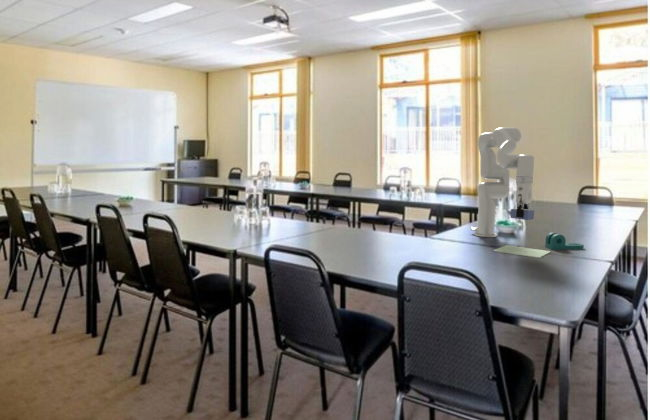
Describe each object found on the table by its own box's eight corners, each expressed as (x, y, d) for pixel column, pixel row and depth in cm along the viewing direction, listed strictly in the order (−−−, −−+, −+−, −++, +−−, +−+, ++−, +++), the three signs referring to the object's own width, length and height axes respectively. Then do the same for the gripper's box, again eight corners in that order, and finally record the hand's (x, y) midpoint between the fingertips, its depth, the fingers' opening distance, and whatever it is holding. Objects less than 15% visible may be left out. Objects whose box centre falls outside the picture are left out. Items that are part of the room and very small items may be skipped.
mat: (493, 251, 234) (493, 250, 234) (506, 245, 247) (506, 245, 247) (539, 258, 220) (539, 257, 219) (550, 252, 233) (550, 251, 233)
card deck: (527, 220, 227) (528, 210, 226) (510, 217, 234) (511, 208, 233) (533, 219, 230) (534, 209, 230) (516, 217, 237) (516, 207, 237)
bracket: (552, 249, 239) (553, 234, 238) (545, 247, 246) (546, 232, 245) (586, 249, 240) (587, 234, 239) (578, 247, 247) (579, 232, 246)
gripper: (526, 181, 221) (524, 219, 223) (537, 179, 234) (535, 215, 236) (510, 180, 226) (508, 217, 228) (522, 179, 239) (520, 214, 241)
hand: (522, 216), depth 232 cm, fingers closed on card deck, 6 cm apart
